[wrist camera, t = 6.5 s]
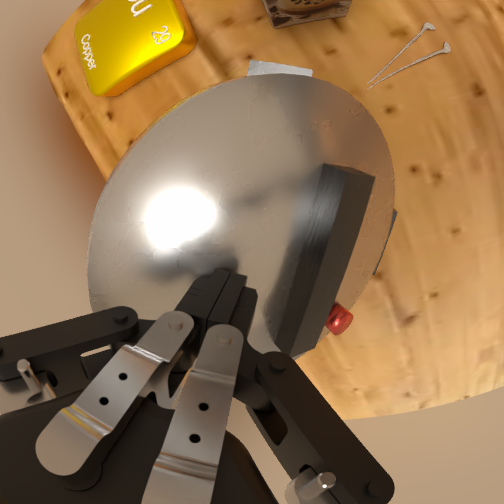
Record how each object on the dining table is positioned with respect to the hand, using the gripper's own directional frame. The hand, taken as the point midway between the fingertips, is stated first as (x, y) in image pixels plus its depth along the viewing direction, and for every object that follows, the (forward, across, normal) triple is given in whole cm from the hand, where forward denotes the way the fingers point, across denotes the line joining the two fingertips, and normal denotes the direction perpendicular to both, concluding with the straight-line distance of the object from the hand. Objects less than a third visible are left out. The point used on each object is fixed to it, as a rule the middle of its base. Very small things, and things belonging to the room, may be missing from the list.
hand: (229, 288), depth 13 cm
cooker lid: (+4, -2, 0) cm, 4 cm away
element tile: (+23, +22, -19) cm, 37 cm away
